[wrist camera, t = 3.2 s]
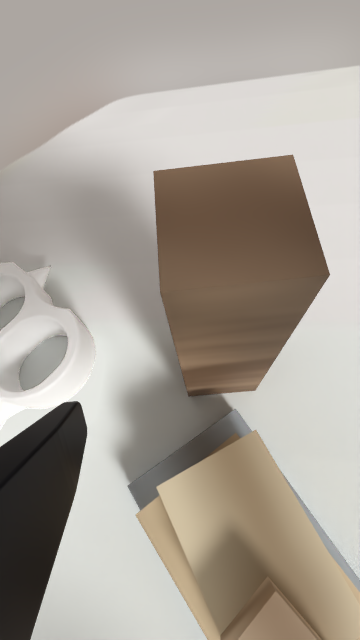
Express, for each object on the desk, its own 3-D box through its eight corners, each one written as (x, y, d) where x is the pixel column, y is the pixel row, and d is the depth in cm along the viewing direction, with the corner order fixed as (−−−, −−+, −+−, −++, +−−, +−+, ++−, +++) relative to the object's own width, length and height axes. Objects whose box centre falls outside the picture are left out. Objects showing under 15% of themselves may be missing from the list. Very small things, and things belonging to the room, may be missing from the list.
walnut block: (255, 390, 19) (329, 274, 8) (188, 396, 20) (160, 291, 8) (244, 328, 21) (292, 154, 9) (183, 334, 21) (153, 171, 9)
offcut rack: (260, 728, 14) (293, 894, 8) (131, 484, 18) (100, 493, 13) (381, 616, 15) (477, 699, 10) (234, 411, 19) (244, 390, 14)
